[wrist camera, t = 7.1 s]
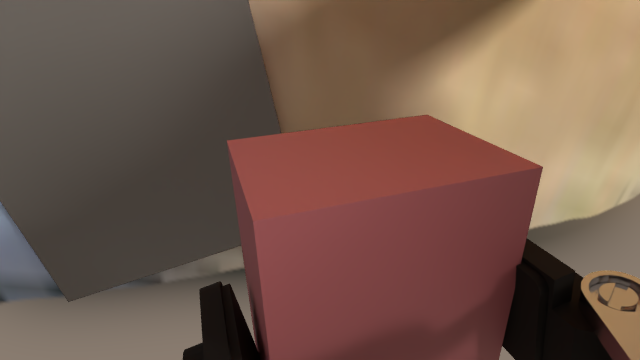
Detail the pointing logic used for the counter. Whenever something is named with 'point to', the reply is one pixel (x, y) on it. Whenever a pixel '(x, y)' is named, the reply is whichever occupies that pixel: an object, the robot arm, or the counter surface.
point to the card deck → (381, 240)
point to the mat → (126, 131)
